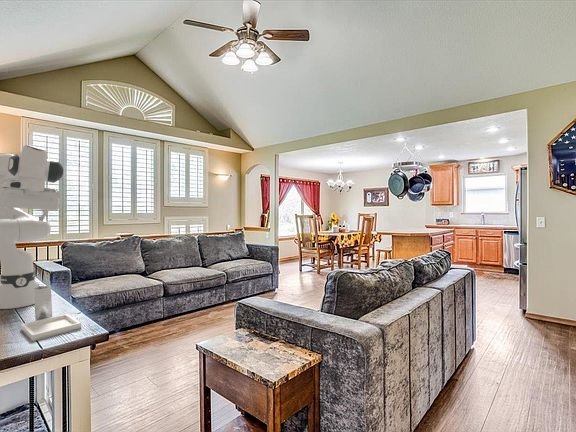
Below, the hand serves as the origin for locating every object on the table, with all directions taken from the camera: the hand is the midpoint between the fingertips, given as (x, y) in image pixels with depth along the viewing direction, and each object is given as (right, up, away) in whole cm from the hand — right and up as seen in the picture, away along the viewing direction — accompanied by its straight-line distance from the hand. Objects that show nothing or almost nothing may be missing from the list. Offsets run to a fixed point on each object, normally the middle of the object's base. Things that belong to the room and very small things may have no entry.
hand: (27, 220), depth 130 cm
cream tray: (+20, -39, -14) cm, 46 cm away
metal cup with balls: (+11, -38, -6) cm, 41 cm away
